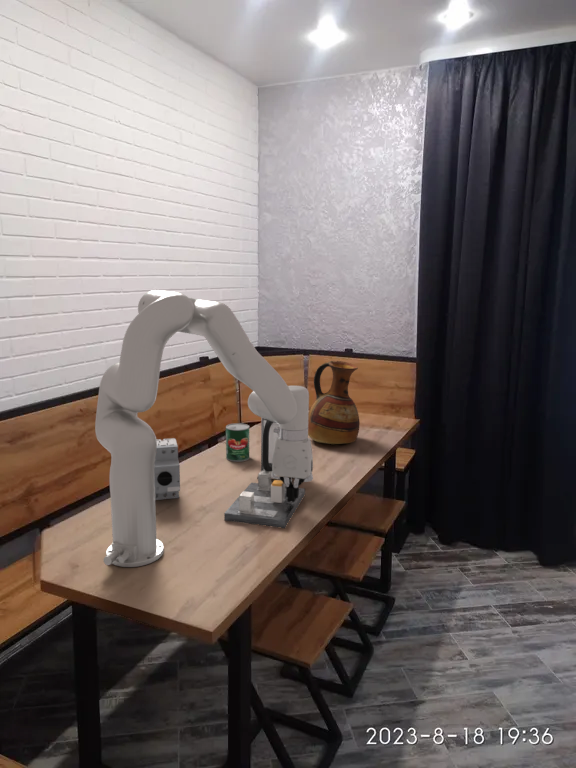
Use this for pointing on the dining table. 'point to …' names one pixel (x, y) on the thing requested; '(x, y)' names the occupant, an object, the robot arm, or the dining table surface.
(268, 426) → the coffee press
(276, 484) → the toggle
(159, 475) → the circuit breaker
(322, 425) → the ceramic pitcher
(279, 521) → the panel
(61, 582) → the dining table surface
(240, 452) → the canned tomato
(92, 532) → the dining table surface
